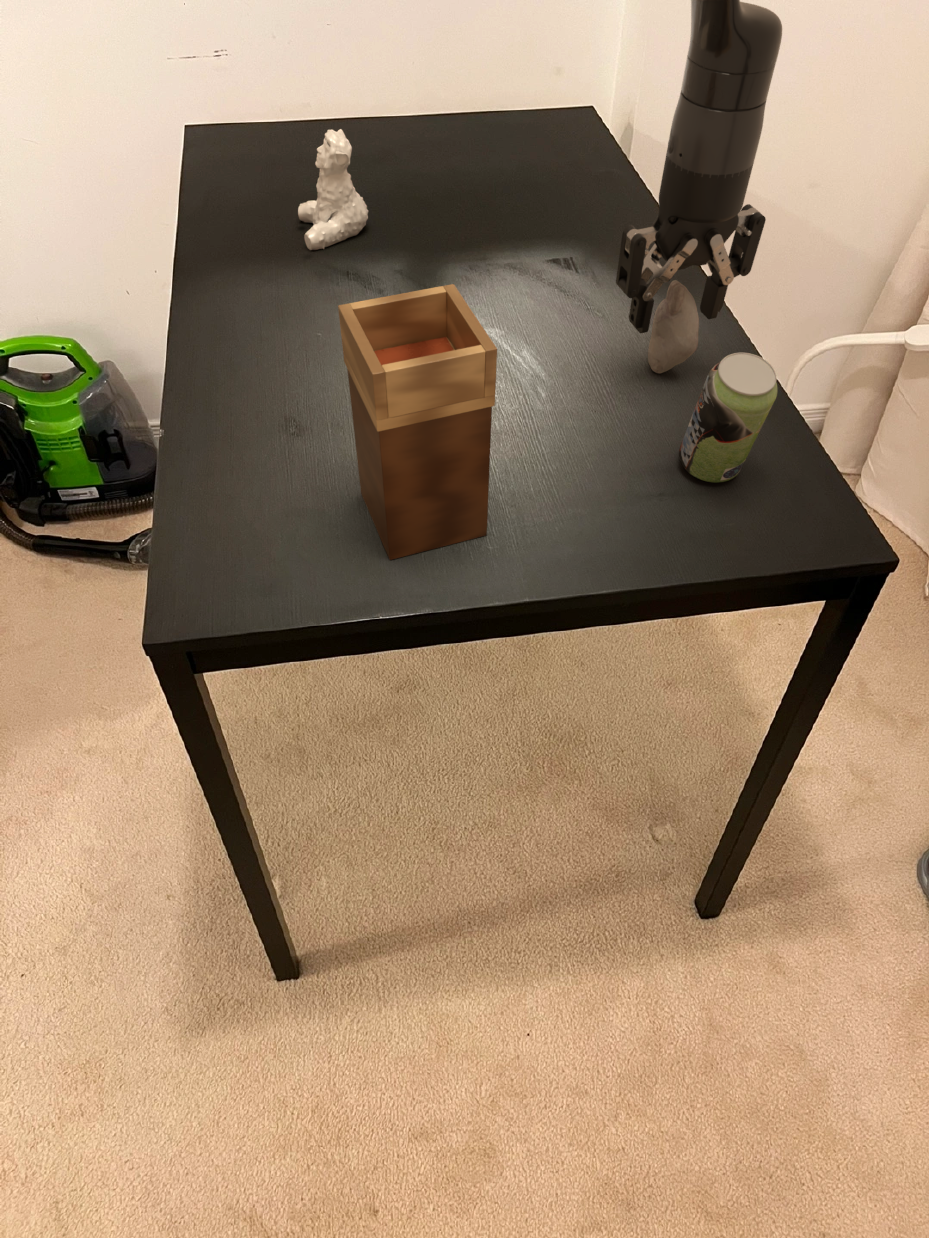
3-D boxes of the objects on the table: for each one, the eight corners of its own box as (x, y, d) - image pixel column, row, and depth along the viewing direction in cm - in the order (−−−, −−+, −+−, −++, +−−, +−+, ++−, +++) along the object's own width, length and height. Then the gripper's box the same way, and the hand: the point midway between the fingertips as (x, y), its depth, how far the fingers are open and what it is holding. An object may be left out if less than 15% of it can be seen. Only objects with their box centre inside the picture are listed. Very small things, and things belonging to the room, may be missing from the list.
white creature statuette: (297, 217, 114) (283, 117, 105) (362, 209, 115) (354, 111, 106) (307, 252, 108) (293, 151, 99) (376, 244, 110) (368, 143, 100)
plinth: (452, 471, 83) (452, 341, 72) (487, 535, 77) (492, 405, 67) (360, 493, 81) (346, 362, 70) (389, 560, 75) (378, 430, 65)
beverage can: (714, 439, 86) (746, 331, 77) (762, 485, 82) (801, 376, 73) (661, 457, 84) (687, 349, 75) (707, 505, 80) (740, 396, 71)
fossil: (693, 382, 92) (715, 295, 84) (665, 391, 91) (685, 303, 83) (661, 353, 95) (680, 266, 88) (634, 361, 94) (650, 274, 87)
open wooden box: (453, 340, 72) (453, 283, 68) (495, 406, 67) (497, 348, 63) (344, 362, 70) (337, 305, 66) (377, 432, 64) (372, 374, 61)
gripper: (658, 182, 72) (627, 356, 85) (806, 158, 75) (755, 328, 88) (617, 145, 76) (593, 315, 89) (758, 123, 80) (716, 290, 92)
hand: (674, 321), depth 89 cm, fingers open, 7 cm apart
